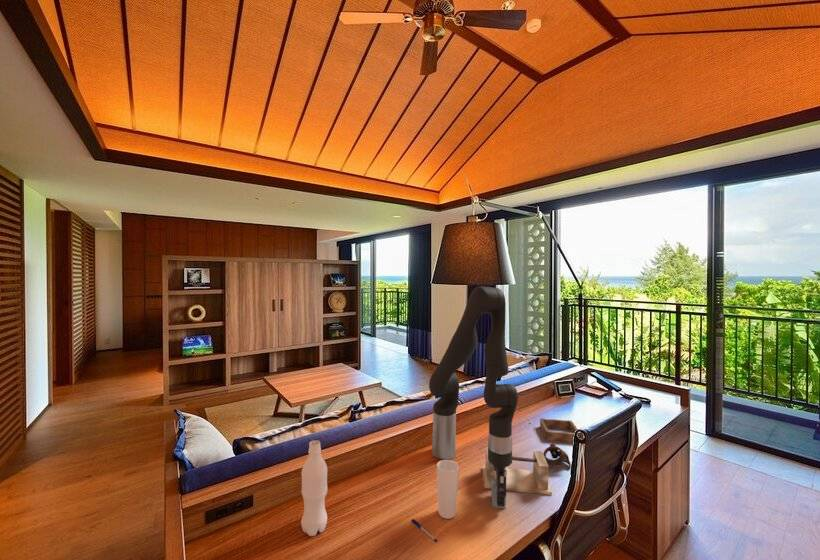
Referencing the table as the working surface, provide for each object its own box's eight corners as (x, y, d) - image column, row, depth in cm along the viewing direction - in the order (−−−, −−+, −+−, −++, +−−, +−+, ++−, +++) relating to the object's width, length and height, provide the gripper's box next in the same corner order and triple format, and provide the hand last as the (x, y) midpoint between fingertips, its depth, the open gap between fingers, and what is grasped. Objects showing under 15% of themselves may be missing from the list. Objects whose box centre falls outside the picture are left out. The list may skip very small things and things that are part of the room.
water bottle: (329, 520, 104) (330, 436, 103) (324, 538, 96) (324, 449, 96) (304, 520, 103) (305, 436, 103) (298, 539, 96) (298, 449, 95)
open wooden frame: (546, 440, 154) (546, 431, 154) (539, 426, 168) (539, 418, 168) (581, 443, 152) (581, 434, 152) (571, 429, 166) (571, 420, 166)
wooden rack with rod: (484, 487, 120) (484, 462, 120) (482, 468, 132) (483, 444, 132) (551, 495, 117) (552, 468, 116) (543, 474, 128) (544, 450, 128)
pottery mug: (577, 474, 130) (569, 457, 128) (552, 482, 131) (544, 466, 129) (564, 450, 141) (557, 434, 139) (542, 458, 143) (534, 442, 141)
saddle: (492, 507, 110) (492, 487, 110) (491, 497, 115) (491, 478, 115) (505, 508, 110) (506, 489, 110) (503, 498, 115) (504, 479, 114)
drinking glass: (443, 503, 112) (444, 457, 111) (462, 512, 108) (463, 464, 107) (431, 514, 107) (432, 466, 106) (450, 525, 102) (451, 474, 102)
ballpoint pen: (410, 522, 104) (410, 518, 104) (412, 520, 104) (413, 517, 104) (436, 543, 96) (436, 539, 96) (438, 541, 96) (438, 538, 96)
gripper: (486, 435, 120) (485, 482, 120) (489, 457, 105) (488, 510, 106) (509, 437, 118) (508, 484, 119) (515, 459, 104) (514, 513, 105)
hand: (499, 496), depth 112 cm, fingers open, 8 cm apart
